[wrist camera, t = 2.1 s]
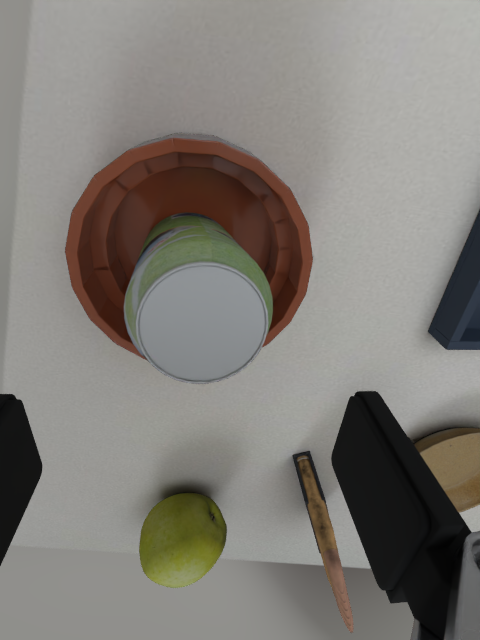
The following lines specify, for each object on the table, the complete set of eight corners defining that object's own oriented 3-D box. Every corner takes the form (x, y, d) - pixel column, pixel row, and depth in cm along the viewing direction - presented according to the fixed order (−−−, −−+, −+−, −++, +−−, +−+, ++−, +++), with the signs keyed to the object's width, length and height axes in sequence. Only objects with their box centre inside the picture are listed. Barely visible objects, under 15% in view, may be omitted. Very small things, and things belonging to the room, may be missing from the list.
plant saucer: (392, 511, 44) (402, 532, 42) (362, 447, 36) (372, 469, 34) (509, 469, 42) (526, 490, 39) (501, 392, 34) (523, 412, 32)
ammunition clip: (322, 505, 41) (362, 633, 31) (307, 508, 41) (342, 638, 31) (309, 450, 36) (353, 585, 26) (292, 454, 36) (329, 591, 26)
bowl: (76, 123, 19) (41, 126, 15) (306, 143, 21) (335, 150, 16) (105, 325, 26) (86, 368, 21) (277, 328, 27) (291, 367, 23)
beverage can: (135, 279, 24) (87, 406, 13) (162, 172, 20) (127, 231, 10) (221, 304, 25) (236, 433, 15) (259, 209, 22) (311, 291, 12)
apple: (126, 499, 37) (109, 587, 30) (194, 464, 35) (193, 549, 28) (172, 528, 41) (167, 612, 34) (236, 497, 39) (244, 579, 32)
